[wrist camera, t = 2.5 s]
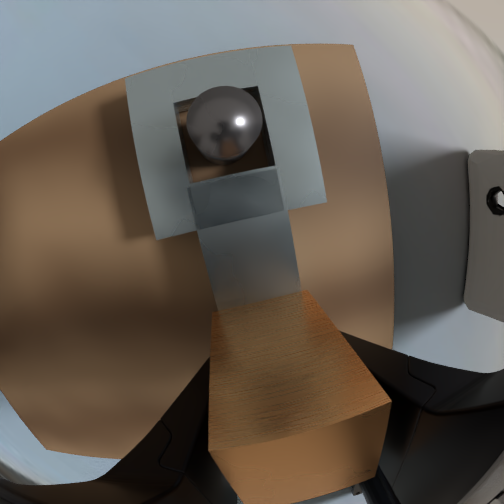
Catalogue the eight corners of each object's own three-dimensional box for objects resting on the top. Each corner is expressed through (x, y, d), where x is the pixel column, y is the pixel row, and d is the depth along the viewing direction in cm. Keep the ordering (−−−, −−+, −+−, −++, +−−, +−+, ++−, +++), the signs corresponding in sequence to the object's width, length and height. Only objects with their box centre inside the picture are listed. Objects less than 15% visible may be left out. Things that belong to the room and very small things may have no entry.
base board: (378, 399, 14) (385, 409, 13) (50, 441, 13) (46, 449, 12) (344, 53, 10) (353, 44, 9) (-58, 197, 8) (-68, 199, 7)
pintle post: (254, 159, 9) (269, 148, 6) (203, 169, 9) (194, 163, 6) (243, 111, 9) (253, 80, 6) (193, 121, 9) (180, 94, 6)
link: (135, 89, 8) (35, -11, 2) (283, 59, 8) (360, -64, 2) (237, 442, 12) (250, 550, 6) (336, 417, 13) (383, 514, 6)
